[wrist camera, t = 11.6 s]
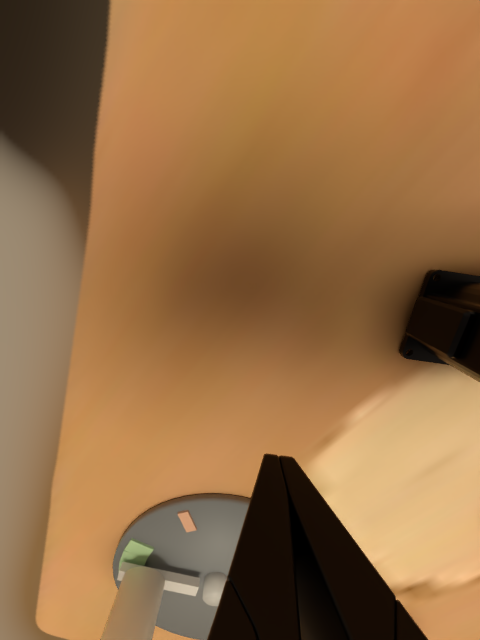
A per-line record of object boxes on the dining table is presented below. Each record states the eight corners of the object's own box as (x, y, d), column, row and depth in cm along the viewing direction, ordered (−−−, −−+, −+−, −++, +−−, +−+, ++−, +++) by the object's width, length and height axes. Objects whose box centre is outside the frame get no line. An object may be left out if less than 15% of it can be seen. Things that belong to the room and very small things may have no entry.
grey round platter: (341, 508, 24) (351, 534, 22) (295, 640, 30) (298, 670, 28) (117, 480, 23) (104, 503, 21) (116, 619, 29) (106, 649, 27)
